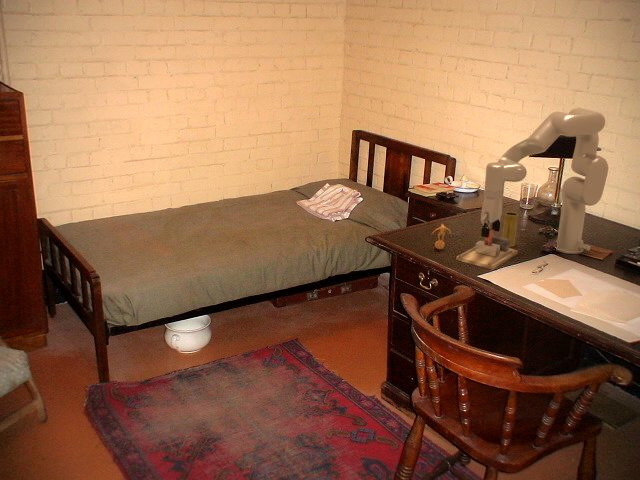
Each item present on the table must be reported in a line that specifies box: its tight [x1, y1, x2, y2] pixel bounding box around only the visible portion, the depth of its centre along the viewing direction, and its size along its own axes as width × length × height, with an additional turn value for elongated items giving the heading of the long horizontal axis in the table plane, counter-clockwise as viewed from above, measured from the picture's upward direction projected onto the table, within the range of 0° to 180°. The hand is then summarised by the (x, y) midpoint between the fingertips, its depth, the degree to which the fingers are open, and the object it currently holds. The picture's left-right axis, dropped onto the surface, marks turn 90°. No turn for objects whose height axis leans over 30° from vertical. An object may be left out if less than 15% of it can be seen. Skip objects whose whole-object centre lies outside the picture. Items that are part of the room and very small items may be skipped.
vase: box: [501, 211, 519, 248], centre depth 285 cm, size 6×6×14 cm
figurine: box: [431, 223, 452, 251], centre depth 278 cm, size 8×6×12 cm
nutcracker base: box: [455, 234, 519, 271], centre depth 272 cm, size 16×24×6 cm, turn 141°
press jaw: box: [475, 227, 500, 257], centre depth 270 cm, size 9×4×10 cm, turn 50°
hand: (490, 233), depth 269 cm, fingers open, 9 cm apart
